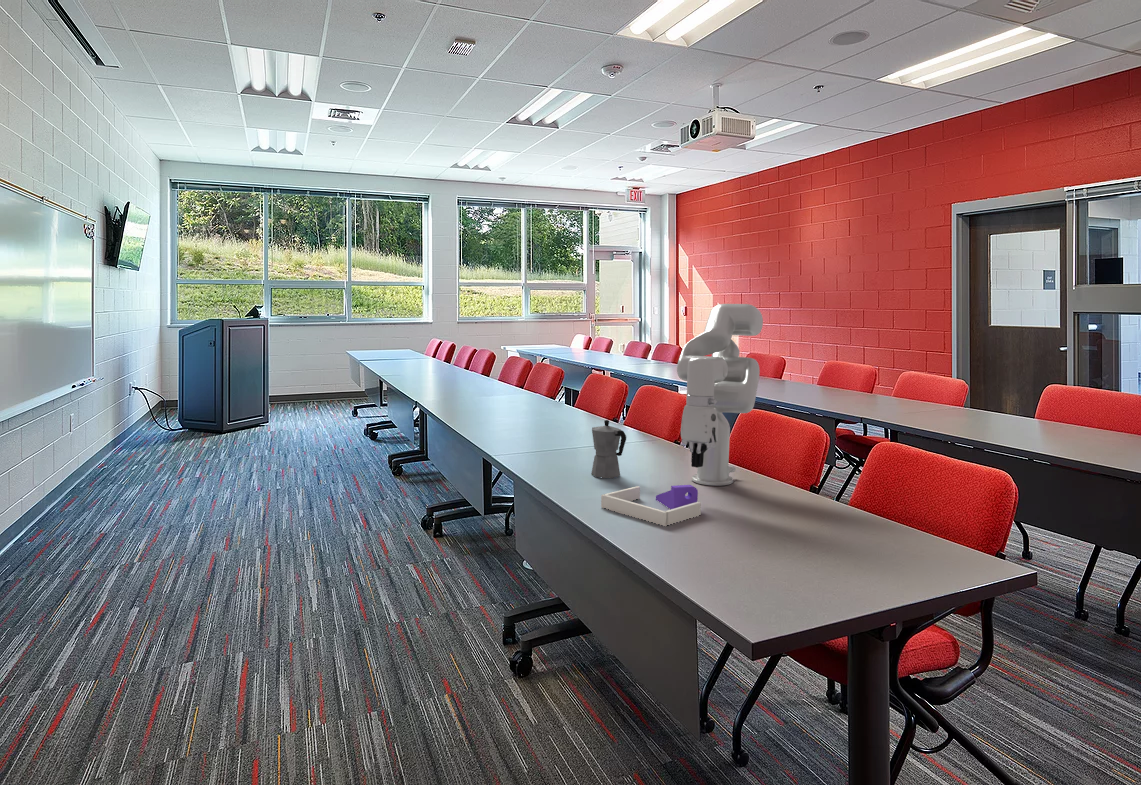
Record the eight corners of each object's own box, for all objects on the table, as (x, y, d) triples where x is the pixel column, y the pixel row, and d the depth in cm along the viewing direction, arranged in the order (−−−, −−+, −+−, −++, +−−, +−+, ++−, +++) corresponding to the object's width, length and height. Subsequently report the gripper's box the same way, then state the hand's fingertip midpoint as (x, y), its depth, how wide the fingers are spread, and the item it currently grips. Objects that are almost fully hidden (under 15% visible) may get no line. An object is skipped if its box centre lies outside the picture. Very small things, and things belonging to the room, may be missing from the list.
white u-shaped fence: (637, 498, 199) (637, 486, 198) (700, 515, 183) (700, 502, 183) (601, 507, 189) (601, 494, 189) (664, 526, 173) (665, 512, 173)
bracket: (697, 511, 188) (698, 486, 187) (673, 512, 186) (674, 487, 185) (678, 499, 200) (678, 475, 199) (655, 500, 198) (656, 477, 197)
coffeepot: (581, 473, 228) (582, 418, 226) (602, 469, 234) (603, 416, 232) (613, 482, 216) (614, 425, 214) (635, 478, 222) (636, 422, 220)
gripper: (730, 403, 193) (727, 469, 195) (686, 398, 204) (684, 461, 206) (714, 405, 188) (711, 472, 190) (670, 400, 199) (667, 464, 201)
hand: (697, 466), depth 198 cm, fingers closed
